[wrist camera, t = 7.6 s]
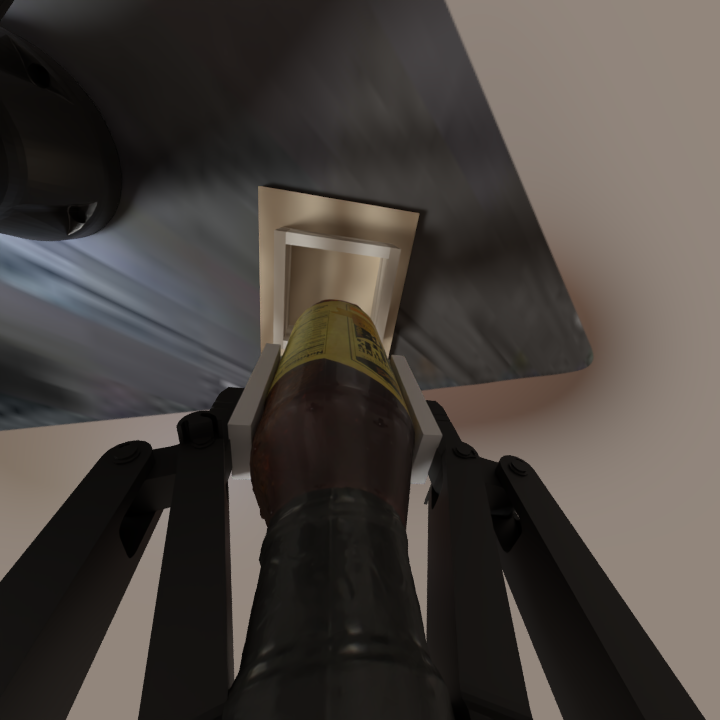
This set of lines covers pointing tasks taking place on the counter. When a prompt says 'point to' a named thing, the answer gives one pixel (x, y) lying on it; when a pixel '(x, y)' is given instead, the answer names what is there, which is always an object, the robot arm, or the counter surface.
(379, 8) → the counter surface
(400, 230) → the caddy board
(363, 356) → the sauce bottle
